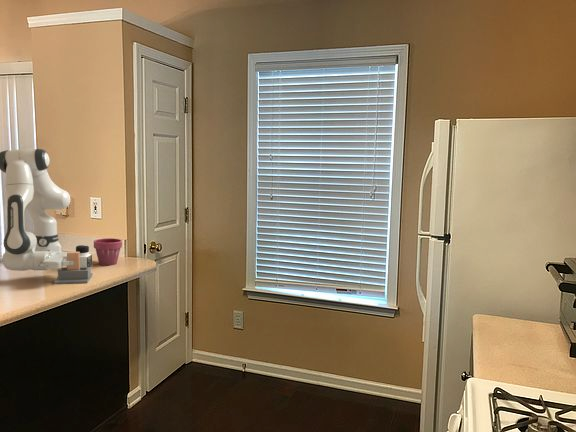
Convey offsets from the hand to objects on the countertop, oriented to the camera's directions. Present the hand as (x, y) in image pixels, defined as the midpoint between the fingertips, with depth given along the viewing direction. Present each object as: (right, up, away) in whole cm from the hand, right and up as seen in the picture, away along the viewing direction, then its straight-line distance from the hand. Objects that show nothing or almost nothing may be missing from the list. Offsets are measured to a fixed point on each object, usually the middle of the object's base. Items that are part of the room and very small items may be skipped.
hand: (75, 260), depth 214 cm
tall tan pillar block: (-1, -8, +1) cm, 8 cm away
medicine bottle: (-6, -6, +21) cm, 23 cm away
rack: (-1, -9, +1) cm, 9 cm away
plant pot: (+2, -5, +33) cm, 34 cm away
